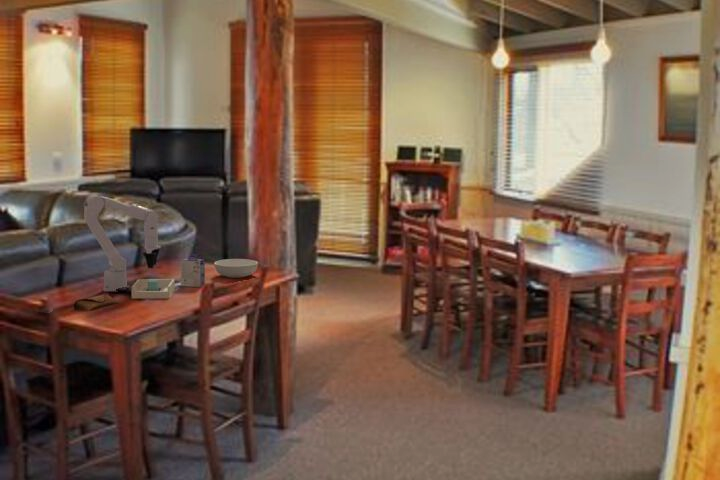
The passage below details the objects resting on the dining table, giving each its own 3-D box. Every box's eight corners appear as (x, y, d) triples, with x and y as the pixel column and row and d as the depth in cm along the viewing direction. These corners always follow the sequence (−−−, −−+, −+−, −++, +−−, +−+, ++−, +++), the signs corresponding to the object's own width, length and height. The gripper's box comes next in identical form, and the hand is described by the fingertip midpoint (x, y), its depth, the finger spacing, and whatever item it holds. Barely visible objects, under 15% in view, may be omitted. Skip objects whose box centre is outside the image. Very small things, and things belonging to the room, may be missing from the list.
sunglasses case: (88, 311, 347) (82, 296, 348) (78, 318, 351) (71, 303, 352) (121, 302, 363) (115, 288, 364) (111, 309, 366) (104, 294, 367)
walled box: (131, 298, 371) (131, 287, 370) (138, 290, 386) (138, 279, 386) (169, 298, 372) (169, 286, 371) (174, 290, 387) (174, 279, 387)
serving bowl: (265, 277, 416) (265, 263, 415) (225, 282, 404) (225, 268, 403) (246, 270, 433) (245, 256, 432) (207, 274, 421) (206, 260, 420)
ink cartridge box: (205, 285, 398) (205, 254, 396) (201, 287, 393) (200, 256, 391) (185, 283, 400) (184, 253, 398) (180, 286, 395) (179, 255, 393)
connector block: (147, 295, 377) (147, 281, 376) (149, 293, 381) (149, 279, 380) (157, 295, 377) (156, 281, 376) (158, 293, 381) (158, 279, 380)
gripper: (157, 239, 383) (158, 269, 385) (162, 234, 397) (163, 263, 399) (141, 239, 382) (142, 269, 385) (147, 234, 397) (148, 263, 399)
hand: (152, 266), depth 392 cm, fingers open, 7 cm apart
